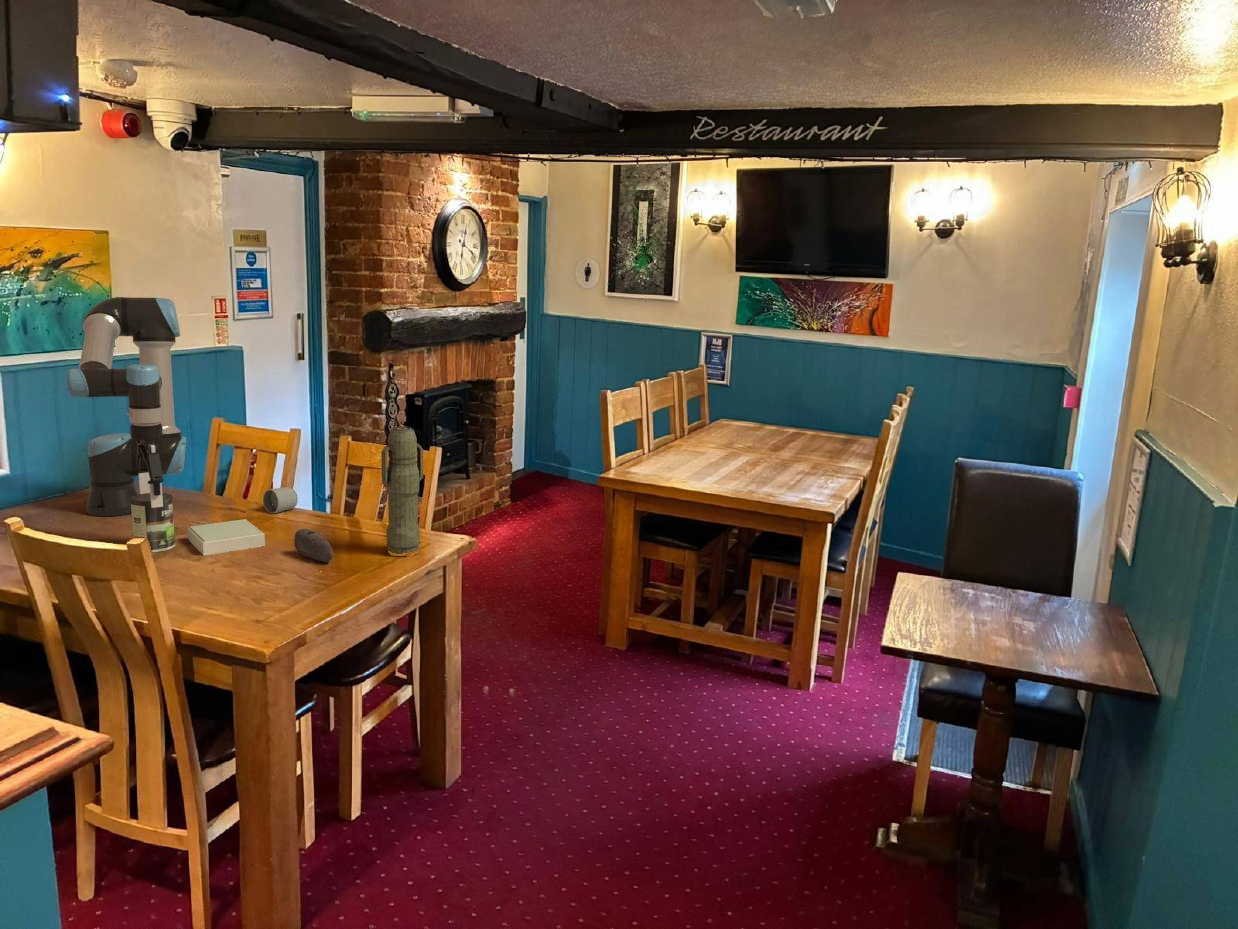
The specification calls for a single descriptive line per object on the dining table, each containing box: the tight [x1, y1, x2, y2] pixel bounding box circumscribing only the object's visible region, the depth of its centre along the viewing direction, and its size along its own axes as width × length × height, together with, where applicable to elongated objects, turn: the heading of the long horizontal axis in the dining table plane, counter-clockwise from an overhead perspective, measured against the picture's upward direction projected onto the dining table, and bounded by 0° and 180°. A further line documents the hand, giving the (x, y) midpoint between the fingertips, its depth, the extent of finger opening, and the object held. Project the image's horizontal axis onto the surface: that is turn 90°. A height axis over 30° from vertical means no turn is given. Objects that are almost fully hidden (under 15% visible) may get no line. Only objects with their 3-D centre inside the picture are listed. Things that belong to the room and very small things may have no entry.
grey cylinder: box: [262, 486, 299, 514], centre depth 287 cm, size 11×8×8 cm
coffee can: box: [130, 492, 176, 553], centre depth 245 cm, size 10×10×14 cm
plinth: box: [187, 518, 266, 556], centre depth 252 cm, size 16×16×4 cm
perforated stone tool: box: [293, 528, 334, 563], centre depth 243 cm, size 15×5×7 cm, turn 48°
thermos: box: [381, 426, 424, 554], centre depth 248 cm, size 9×12×35 cm
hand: (151, 501), depth 244 cm, fingers open, 13 cm apart
